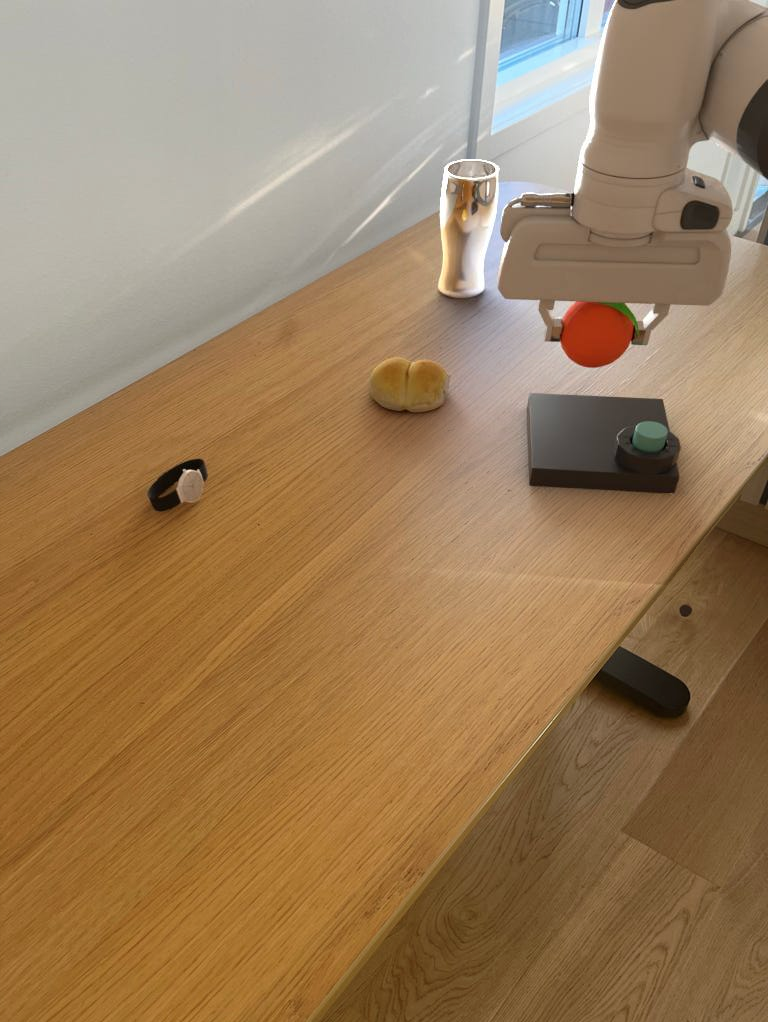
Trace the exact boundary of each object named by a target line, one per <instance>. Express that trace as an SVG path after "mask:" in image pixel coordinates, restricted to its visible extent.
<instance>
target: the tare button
mask: <svg viewBox="0 0 768 1022" xmlns="http://www.w3.org/2000/svg"><path fill="white" fill-rule="evenodd" d="M667 434H668V430H667V428H666V427H665V426H664V425H662V424H660V423H657V422H651V421H646V422H642V423H639V424H638V425H637V426H636V429H635V433H634V436H633V440H632V444H633V446H634V447H635V448H636V449H639V450H642V451H645V452H659V451H661V450H662V449H663V448H664V445H665V441H666V438H667Z"/></svg>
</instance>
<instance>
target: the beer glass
mask: <svg viewBox="0 0 768 1022" xmlns="http://www.w3.org/2000/svg"><path fill="white" fill-rule="evenodd" d="M499 172H500V168H499V166H498V165H496V164H495V163H493V162H491V161H487V160H482V159H460V160H457V161H452V162H450V163H448V164H447V165H446V166H445V167H444V173H443V180H442V187H441V195H440V196H441V197H440V204H439V205H440V206H439V223H440V235H441V244H442V266H441V272H440V275H439V279H438V283H437V288H438V291H439V292H440V293H441V292H442V293H441V294H442V295H445V296H447V297H450V298H454V299H469V298H473V297H477V296H479V295H481V294H482V293H483V292H484V290H485V276H484V265H485V264H484V263H485V258H486V253H487V249H488V246H489V242H490V239H491V237H492V236H491V235H492V232H493V229H494V224H495V220H496V215H497V207H498V199H499V174H500V173H499Z"/></svg>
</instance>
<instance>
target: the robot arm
mask: <svg viewBox="0 0 768 1022" xmlns="http://www.w3.org/2000/svg"><path fill="white" fill-rule="evenodd" d="M601 36H602V37H601V40H600V45H599V48H598V49H599V50H598V53H597V57H596V61H595V68H594V73H593V78H592V82H591V83H592V84H591V89H590V95H589V100H588V101H589V103H588V104H589V105H588V106H589V114H590V115H589V116H590V121H589V123H590V124H589V129H588V132H587V135H586V137H585V138H586V139H585V141H584V142H583V145H582V147H581V149H580V153H579V158H578V159H579V160H578V166H577V170H576V176H575V183H574V189H573V192H571V193H570V192H569V193H568V192H564V193H561V192H556V193H555V192H554V193H536V192H526V193H525V192H524V193H522V194H521V196H520V197H516V198H514V199H512V200H511V201H509V202H508V203H507V204H506V205H505V207H504V208H503V209H502V213H501V221H500V227H499V228H500V230H499V233H500V236H501V238H502V240H503V242H504V244H503V248H502V251H501V255H500V260H499V265H498V272H497V282H496V283H497V290H498V292H499V293H500V295H501V296H502V297H503V298H504V299H505V300H513V301H514V300H516V301H517V300H518V301H519V300H521V301H537V308H538V312H539V314H540V316H541V318H542V321H543V323H544V325H545V326H544V333H543V338H544V339H543V340H544V342H547V343H560V339H561V335H560V334H561V333H562V327H563V326H562V319H563V317H554V315H553V313H552V311H553V310H554V308H555V302H608V303H625V304H641V305H643V304H644V305H645V304H646V305H650V306H651V310H650V311H649V312H648V313H647V315H646V316H645V317H644V318H643V319H642V320H636V321H637V324H638V328H639V336H638V332H637V329H636V326H635V325H634V331H633V336H632V339H631V341H630V344H631V345H632V346H648V344H649V341H650V337H651V333H652V331H653V330H654V329H655V328H656V327H657V326H658V325H659V324H660V323H662V321H663V320H664V319H665V318H666V317H667V316H668V315H669V313H670V312H669V311H670V307H671V305H674V306H701V307H703V306H704V307H709V306H712V305H713V304H714V303H715V302H716V301H717V300H719V299H720V298H721V297H722V296H723V293H724V290H725V287H726V283H727V280H728V274H729V269H730V264H731V256H732V241H731V238H730V234H729V232H728V229H727V228H728V227H729V226H730V224H731V222H732V219H733V215H734V208H733V202H732V199H731V196H730V193H729V192H728V190H727V188H726V186H725V185H724V184H723V183H722V181H721V180H719V179H718V178H715V177H713V176H710V175H707V174H704V173H702V172H699V171H696V170H693V169H690V168H688V163H689V155H690V152H691V149H692V147H694V145H695V144H697V143H699V142H708V141H710V142H711V143H713V144H714V145H716V146H718V147H719V148H721V149H723V150H725V151H727V152H728V153H730V154H733V155H734V156H736V157H738V158H739V159H741V160H742V161H743V162H744V163H745V164H746V165H748V166H749V167H750V168H751V169H752V170H754V171H755V172H757V173H758V174H759V175H760V176H761V177H763V178H765V180H767V181H768V7H766V6H763V5H762V4H761V5H760V4H758V3H756V2H753V1H751V0H615V1H614V2H613V4H612V7H611V9H610V12H609V14H608V17H607V20H606V23H605V27H604V29H603V33H602V35H601Z"/></svg>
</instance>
